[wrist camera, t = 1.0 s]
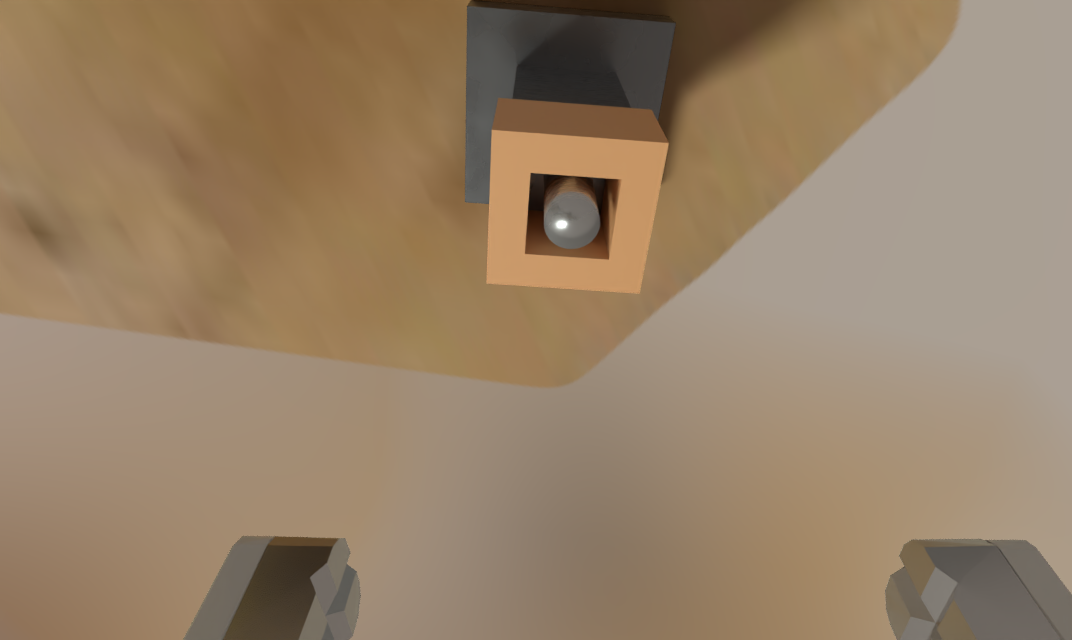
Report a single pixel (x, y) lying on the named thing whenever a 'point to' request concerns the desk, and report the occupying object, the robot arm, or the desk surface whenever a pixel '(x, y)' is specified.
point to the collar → (574, 150)
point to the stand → (558, 90)
